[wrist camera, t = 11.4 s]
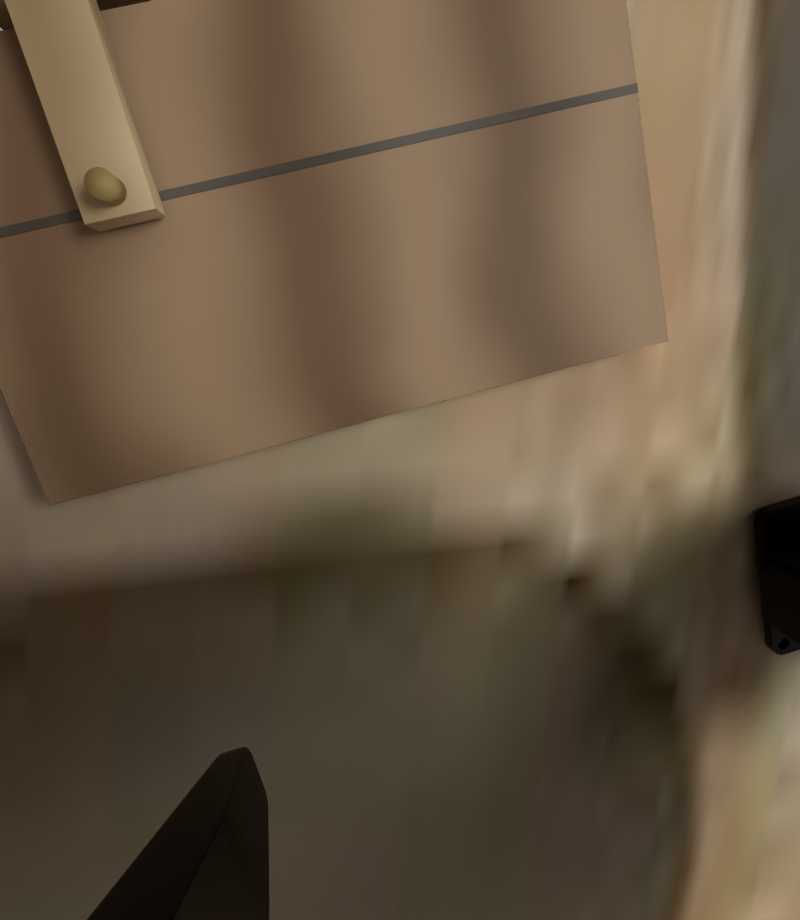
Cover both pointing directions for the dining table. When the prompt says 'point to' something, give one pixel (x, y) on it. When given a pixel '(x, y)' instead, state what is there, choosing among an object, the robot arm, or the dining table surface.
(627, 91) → the board
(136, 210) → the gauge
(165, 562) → the dining table surface
